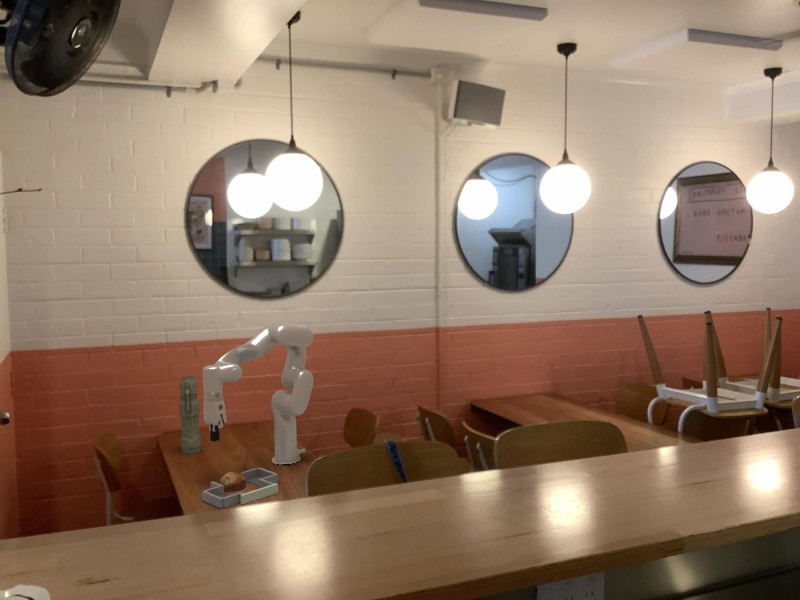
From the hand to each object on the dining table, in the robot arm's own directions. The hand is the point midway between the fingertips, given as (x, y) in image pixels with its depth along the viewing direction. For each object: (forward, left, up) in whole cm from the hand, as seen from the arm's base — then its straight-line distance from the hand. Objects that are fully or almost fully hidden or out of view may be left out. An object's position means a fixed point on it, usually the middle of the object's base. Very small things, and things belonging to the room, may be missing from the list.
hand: (215, 440), depth 294 cm
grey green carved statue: (-15, -44, -17) cm, 50 cm away
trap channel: (0, +18, -17) cm, 25 cm away
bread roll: (0, +11, -18) cm, 21 cm away
